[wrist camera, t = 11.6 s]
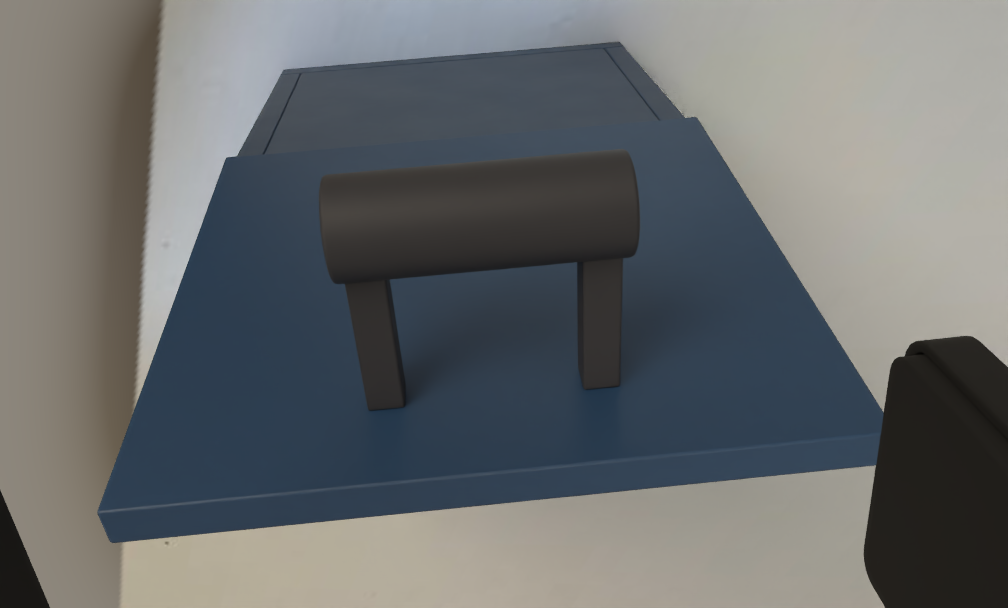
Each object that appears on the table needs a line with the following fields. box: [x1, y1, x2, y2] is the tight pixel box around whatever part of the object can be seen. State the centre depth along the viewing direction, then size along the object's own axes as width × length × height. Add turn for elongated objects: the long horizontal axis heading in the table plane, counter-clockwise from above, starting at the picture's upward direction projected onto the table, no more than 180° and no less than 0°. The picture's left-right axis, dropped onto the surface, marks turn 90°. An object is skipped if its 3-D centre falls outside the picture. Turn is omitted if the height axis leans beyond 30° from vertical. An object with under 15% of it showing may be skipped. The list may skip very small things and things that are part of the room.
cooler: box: [237, 42, 685, 157], centre depth 35 cm, size 13×14×11 cm
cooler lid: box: [98, 117, 884, 543], centre depth 20 cm, size 13×14×5 cm
